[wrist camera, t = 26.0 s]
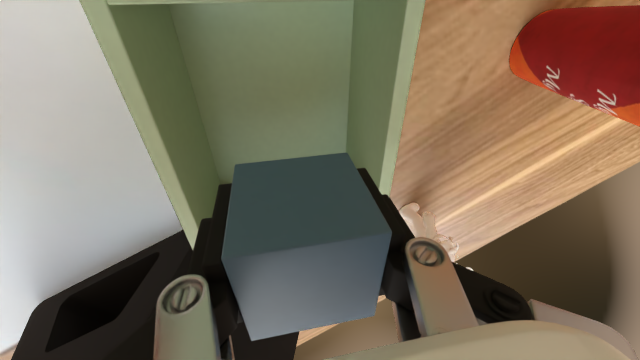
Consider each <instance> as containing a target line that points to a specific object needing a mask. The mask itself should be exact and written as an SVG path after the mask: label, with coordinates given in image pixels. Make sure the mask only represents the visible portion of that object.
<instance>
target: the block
mask: <svg viewBox="0 0 640 360" xmlns="http://www.w3.org/2000/svg"><path fill="white" fill-rule="evenodd" d="M391 235H392V231H391V229H390V227H389V225H388V223H387V222H386V220H385V218H384V216H383V215H382V213H381V211H380V209H379V208H378V206H377V204H376V202H375V200H374V199H373V197H372V195H371V193H370V192H369V190H368V188H367V186H366V184H365V183H364V181H363V179H362V177H361V176H360V174H359V172H358V170H357V169H356V167H355V165H354V163H353V161H352V160H351V158H350V156H349V154H348V153H337V154H327V155H318V156H309V157H299V158H290V159H281V160H271V161H262V162H253V163H243V164H236V165H235V167H234V174H233V181H232V187H231V194H230V201H229V208H228V215H227V222H226V229H225V236H224V243H223V249H222V256H221V260H222V262H223V265H224V268H225V270H226V273H227V276H228V279H229V281H230V284H231V287H232V289H233V292H234V295H235V298H236V300H237V303H238V306H239V309H240V311H241V314H242V317H243V319H244V322H245V325H246V328H247V330H248V333H249V336H250V339H251V341H254V340H259V339H264V338H269V337H274V336H279V335H284V334H288V333H293V332H298V331H303V330H308V329H313V328H318V327H322V326H327V325H332V324H337V323H342V322H347V321H352V320H356V319H361V318H366V317H371V316H374V315H375V310H376V305H377V301H378V296H379V291H380V287H381V282H382V277H383V273H384V268H385V263H386V259H387V254H388V249H389V245H390V240H391Z"/></svg>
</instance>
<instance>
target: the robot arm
mask: <svg viewBox="0 0 640 360" xmlns="http://www.w3.org/2000/svg"><path fill="white" fill-rule="evenodd" d="M357 170H358V172H359V174H360V176H361V177H362V179H363V181H364V183H365V184H366V186H367V188H368V190H369V192H370V193H371V195H372V197H373V199H374V200H375V202H376V204H377V206H378V208H379V209H380V211H381V213H382V215H383V216H384V218H385V220H386V222H387V223H388V225H389V227H390V229H391V231H392V235H391V240H390V245H389V249H388V254H387V259H386V263H385V268H384V273H383V277H382V282H381V287H380V291H379V296H380V295H385V296H386V298H387V299H389V300H391V301H392V307H393V313H394V318H395V323H396V329H397V335H398V340H399V343H396V344H391V345H386V346H382V347H378V348H373V349H368V350H364V351H359V352H355V353H350V354H346V355H342V356H337V357H332V358H328V359H324V360H638V357H637V355H636V353H635V351H634V349H633V348H632V347H631V345H630V343H629V342H628V341H627V340H626V339H625V338H624V337H623V336H622V335H621V334H619V333H618V332H617V331H615V330H614V329H612V328H611V327H609V326H607V325H605V324H602V323H600V322H597V321H594V320H592V319H589V318H586V317H583V316H580V315H577V314H574V313H571V312H568V311H565V310H562V309H559V308H556V307H553V306H550V305H547V304H544V303H541V302H538V301H536V300H532V299H531V300H530V301H529V302H528V301H526V300H525V299H524V298H523V297H522V296H521V295H520V294H519V293H518V292H516V291H515V290H514V289H512V288H510V287H508V286H506V285H504V284H502V283H499V282H497V281H495V280H493V279H490V278H488V277H486V276H483V275H481V274H479V273H477V272H474V271H472V270H470V269H467V268H465V267H463V266H461V265H458V264H456V263H454V262H451V259H450V257H449V255H448V253H447V251H446V250H445V248H444V247H443V246H442V245H441V244H439V243H438V242H436V241H434V240H432V239H429V238H424V237H417V238H415V236H414V235H413V233H412V232H411V230H410V229H409V227H408V225H407V224H406V222H405V221H404V219H403V218H402V216H401V215H400V213H399V211H398V210H397V208H396V207H395V205H394V204H393V202H392V201H391V199H390V198H389V196H388V195H386V194H383V195H382V194H381V192H380V191H379V189H378V187H377V186H376V184H375V183H374V181H373V179H372V178H371V176H370V174H369V173H368V171H367V170H366V168H357ZM231 187H232V183H230V184H221V185H219V187H218V191H217V196H216V201H215V205H214V210H213V215H212V218H204V219H202V220H201V222H200V226H199V229H198V233H197V237H196V241H195V245H194V249H193V252H192V256H191V260H190V264H189V268H188V272H187V275H185V276H182V277H179V278H177V279H175V280H174V281H172V282H171V283H170V284H168V285H167V286H166V287H165V288H164V290H163V291H162V292H161V294H160V296H159V297H158V301H157V305H156V313H155V314H153V315H152V316H151V317H150V318H149V319H147V320H146V321H145V322H144V323H143V324H142V325H140V326H139V327H138V328H137V329H136V330H134V331H133V332H132V333H131V334H130V335H128V336H127V337H126V338H125V339H124V340H122V341H121V342H120V343H119V344H118V345H117V346H115V347H114V348H113V349H112V350H111V351H109V352H108V353H107V354H106V355H105V356H103V357H102V358H101V359H100V360H235V358H234V352H233V346H232V340H231V334H232V333H233V331H234V330H235V329H236V328H237V323H241V322H243V317H242V314H241V311H240V309H239V306H238V303H237V300H236V298H235V295H234V292H233V289H232V287H231V284H230V281H229V279H228V276H227V273H226V270H225V268H224V265H223V262H222V260H221V256H222V249H223V243H224V236H225V229H226V222H227V215H228V208H229V201H230V194H231Z"/></svg>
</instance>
